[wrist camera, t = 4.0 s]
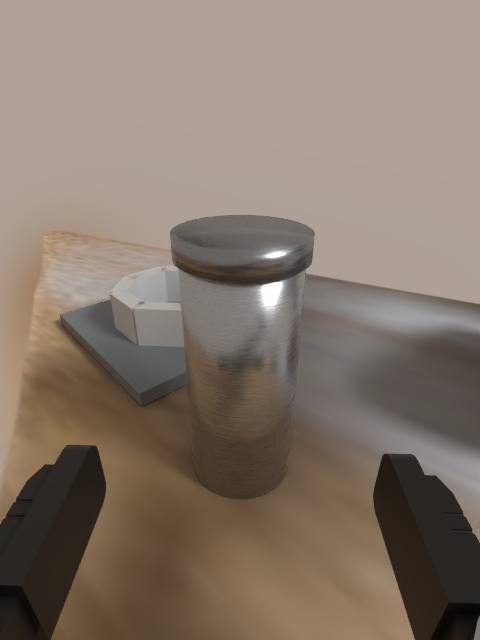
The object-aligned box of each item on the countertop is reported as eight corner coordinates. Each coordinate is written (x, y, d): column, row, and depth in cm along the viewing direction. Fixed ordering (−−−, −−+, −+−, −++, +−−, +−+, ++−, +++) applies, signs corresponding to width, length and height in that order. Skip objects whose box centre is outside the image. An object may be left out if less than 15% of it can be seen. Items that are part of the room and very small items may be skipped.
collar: (194, 284, 41) (192, 248, 39) (292, 332, 32) (295, 288, 30) (62, 324, 33) (51, 281, 31) (141, 406, 23) (133, 351, 21)
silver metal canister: (244, 408, 23) (246, 209, 18) (313, 460, 20) (344, 232, 14) (169, 453, 20) (143, 228, 14) (235, 525, 16) (235, 264, 11)
